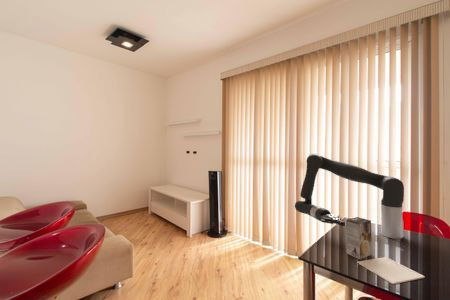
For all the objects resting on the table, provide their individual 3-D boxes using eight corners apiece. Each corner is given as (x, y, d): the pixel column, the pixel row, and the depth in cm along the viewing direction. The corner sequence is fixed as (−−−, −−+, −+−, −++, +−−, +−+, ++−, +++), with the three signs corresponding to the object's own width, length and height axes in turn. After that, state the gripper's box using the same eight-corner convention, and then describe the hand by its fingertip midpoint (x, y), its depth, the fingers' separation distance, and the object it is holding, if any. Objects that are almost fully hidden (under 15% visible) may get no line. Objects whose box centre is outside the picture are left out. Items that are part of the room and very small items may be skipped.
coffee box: (357, 249, 100) (357, 216, 100) (371, 255, 94) (371, 220, 94) (345, 253, 96) (345, 219, 96) (360, 260, 90) (360, 223, 90)
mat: (386, 258, 91) (386, 257, 91) (424, 277, 77) (424, 276, 77) (357, 262, 88) (357, 261, 88) (392, 284, 73) (392, 283, 73)
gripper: (310, 208, 118) (332, 217, 102) (329, 206, 122) (354, 215, 105) (310, 221, 118) (332, 232, 102) (329, 219, 122) (354, 230, 105)
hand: (343, 224), depth 103 cm, fingers closed
